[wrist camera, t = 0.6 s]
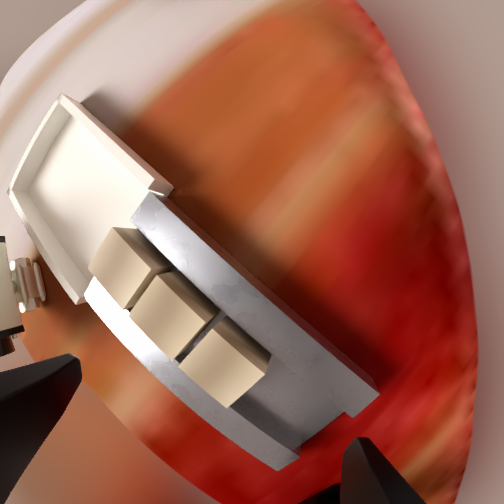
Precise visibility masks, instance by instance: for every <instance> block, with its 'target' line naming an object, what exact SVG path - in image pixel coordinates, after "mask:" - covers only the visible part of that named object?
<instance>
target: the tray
mask: <svg viewBox="0 0 504 504" xmlns="http://www.w3.org/2000/svg"><path fill="white" fill-rule="evenodd" d="M173 188H174V186H173V185H172V184H170V183H169V182H168V181H167V180H166V179H165V178H164V177H163V176H161V175H160V174H159V173H158V172H157V171H156V170H155V169H154V168H152V167H151V166H150V165H149V164H148V163H147V162H146V161H145V160H143V159H142V158H141V157H140V156H139V155H138V154H137V153H136V152H134V151H133V150H132V149H131V148H130V147H129V146H128V145H127V144H125V143H124V142H123V141H122V140H121V139H120V138H119V137H118V136H116V135H115V134H114V133H113V132H112V131H111V130H110V129H109V128H107V127H106V126H105V125H104V124H103V123H102V122H101V121H100V120H98V119H97V118H96V117H95V116H94V115H93V114H92V113H91V112H89V111H88V110H87V109H86V108H85V107H84V106H83V105H82V104H80V103H79V102H77V101H76V100H74V99H72V98H70V97H68V96H66V95H65V94H63V93H60V95H59V96H58V98H57V99H56V101H55V102H54V104H53V105H52V107H51V108H50V110H49V111H48V113H47V115H46V116H45V118H44V119H43V121H42V123H41V124H40V126H39V128H38V130H37V131H36V133H35V135H34V137H33V138H32V140H31V142H30V144H29V146H28V148H27V150H26V152H25V153H24V155H23V157H22V159H21V161H20V164H19V166H18V168H17V170H16V172H15V174H14V176H13V179H12V181H11V183H10V186H9V188H8V190H7V193H8V195H9V197H10V199H11V201H12V203H13V205H14V207H15V209H16V211H17V213H18V215H19V217H20V219H21V221H22V223H23V224H24V226H25V228H26V230H27V232H28V233H29V235H30V237H31V239H32V240H33V242H34V244H35V245H36V247H37V249H38V250H39V252H40V254H41V255H42V257H43V259H44V260H45V262H46V263H47V265H48V266H49V268H50V269H51V271H52V272H53V274H54V275H55V277H56V278H57V280H58V281H59V283H60V284H61V286H62V287H63V288H64V290H65V291H66V293H67V294H68V295H69V297H70V298H71V299H72V301H73V302H74V303H75V305H78V304H81V303H85V302H87V301H86V299H85V298H84V297H83V296H84V294H85V292H86V290H87V288H88V287H89V285H90V283H91V281H92V279H93V278H94V276H93V275H92V273H91V272H90V271H89V270H88V266H89V265H90V263H91V261H92V259H93V258H94V256H95V254H96V252H97V251H98V249H99V247H100V246H101V244H102V242H103V241H104V239H105V237H106V236H107V234H108V233H109V231H110V229H111V228H112V227H120V228H133V229H137V227H136V226H135V225H134V224H133V223H132V222H131V221H130V218H131V217H132V215H133V214H134V212H135V211H136V210H137V208H138V207H139V205H140V204H141V202H142V201H143V200H144V198H145V197H146V195H147V194H148V193H149V191H151V192H154V193H157V194H160V195H163V196H166V197H167V196H168V195H169V194H170V192H171V191H172V190H173Z"/></svg>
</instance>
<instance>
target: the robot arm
mask: <svg viewBox="0 0 504 504" xmlns="http://www.w3.org/2000/svg"><path fill="white" fill-rule="evenodd" d="M81 380H82V371H81V364H80V360H79V358H78V357H76V356H74V355H72V354H69V353H68V354H64V355H61V356H57V357H54V358H50V359H47V360H43V361H40V362H36V363H33V364H29V365H26V366H22V367H18V368H15V369H11V370H7V371H3V372H0V504H4V503H5V502H6V500H7V498H8V497H9V495H10V492H11V491H12V490H13V488H14V486H15V485H16V483H17V481H18V480H19V478H20V477H21V475H22V474H23V472H24V470H25V469H26V468H27V466H28V464H29V463H30V461H31V460H32V458H33V457H34V455H35V454H36V452H37V451H38V449H39V448H40V446H41V445H42V443H43V442H44V441H45V439H46V438H47V436H48V435H49V433H50V432H51V431H52V429H53V428H54V426H55V425H56V423H57V422H58V421H59V419H60V418H61V416H62V415H63V413H64V411H65V410H66V408H67V406H68V404H69V402H70V400H71V399H72V397H73V395H74V393H75V392H76V390H77V388H78V386H79V384H80V383H81ZM334 489H335V490H334ZM299 504H426V503H425V502H424V501H423V499H422V498H421V497H420V496H419V495H418V494H417V493H416V492H415V491H414V489H413V488H412V487H411V486H410V485H409V484H408V483H407V482H406V480H405V479H404V478H403V477H402V476H401V475H400V474H399V472H398V471H397V470H396V469H395V468H394V467H393V466H392V464H391V463H390V462H389V461H388V460H387V459H386V458H385V456H384V455H383V454H382V453H381V452H380V451H379V449H378V448H377V447H376V446H375V445H374V444H373V442H372V441H371V440H370V439H369V438H367V437H356V438H355V439H354V440H353V441H352V443H351V444H350V445H349V446H348V448H347V449H346V450H345V452H344V454H343V462H342V476H341V486H339V485H333V486H331V487H329V488H327V489H326V490H324V491H322V492H320V493H319V494H317V495H315V496H313V497H311V498H309V499H307V500H305V501H303V502H301V503H299Z"/></svg>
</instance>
